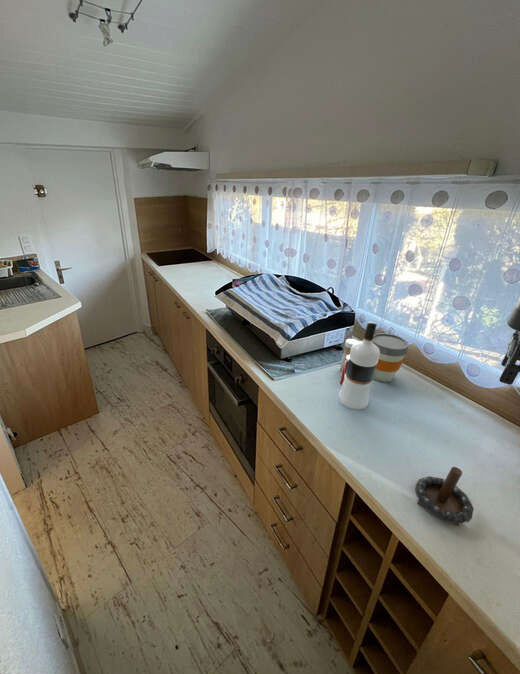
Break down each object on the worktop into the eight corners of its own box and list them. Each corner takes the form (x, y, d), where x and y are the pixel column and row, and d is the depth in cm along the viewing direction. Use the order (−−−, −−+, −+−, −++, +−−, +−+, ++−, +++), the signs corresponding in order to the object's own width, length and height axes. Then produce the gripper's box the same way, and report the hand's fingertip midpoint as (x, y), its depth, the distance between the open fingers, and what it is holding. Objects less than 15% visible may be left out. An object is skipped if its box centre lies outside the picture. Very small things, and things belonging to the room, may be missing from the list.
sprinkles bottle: (344, 366, 123) (351, 337, 117) (354, 371, 120) (361, 342, 113) (337, 370, 121) (343, 340, 115) (346, 375, 117) (353, 345, 111)
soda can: (346, 391, 109) (353, 363, 103) (336, 383, 113) (342, 355, 107) (357, 387, 111) (364, 359, 105) (347, 379, 115) (353, 352, 109)
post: (463, 500, 72) (481, 469, 67) (458, 526, 67) (477, 494, 62) (424, 480, 77) (438, 450, 72) (417, 503, 72) (432, 472, 67)
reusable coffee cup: (376, 386, 111) (386, 351, 104) (355, 367, 122) (363, 334, 115) (406, 382, 113) (417, 347, 106) (383, 364, 124) (392, 331, 117)
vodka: (339, 409, 101) (358, 328, 86) (336, 392, 109) (352, 315, 94) (369, 413, 99) (393, 331, 85) (364, 395, 107) (385, 317, 93)
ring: (474, 500, 71) (477, 494, 70) (466, 536, 64) (470, 530, 63) (421, 472, 78) (423, 467, 77) (409, 502, 71) (411, 496, 70)
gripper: (569, 325, 55) (528, 396, 63) (563, 303, 64) (527, 367, 72) (515, 314, 60) (482, 381, 67) (516, 295, 69) (487, 356, 77)
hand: (505, 374), depth 70 cm, fingers open, 8 cm apart
